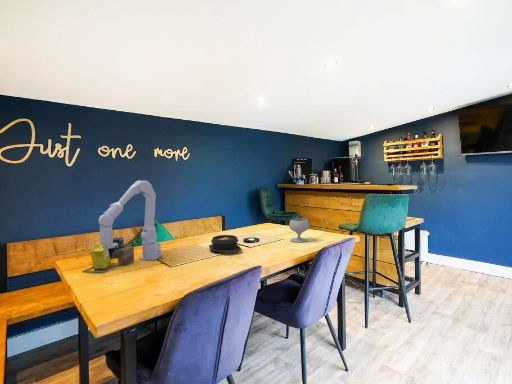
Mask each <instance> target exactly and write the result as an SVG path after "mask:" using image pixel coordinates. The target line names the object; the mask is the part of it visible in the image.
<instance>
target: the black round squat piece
mask: <svg viewBox="0 0 512 384" xmlns="http://www.w3.org/2000/svg"><path fill="white" fill-rule="evenodd" d="M210 242H211V244H209V245H208V247H209V250H211V251H213V252H216V253H223V254H224V253H225V254H226V253H227V254H229V253H231V254H233V253H236V252H240V251H242V248H241V247H240V246H239V245H238V243H239V238H238V236H236V235H233V234H232V235H231V234H220V235H214V236H213V237H212V239H211V240H210Z"/></svg>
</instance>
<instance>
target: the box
mask: <svg viewBox="0 0 512 384" xmlns="http://www.w3.org/2000/svg"><path fill="white" fill-rule="evenodd" d="M113 243H118V247H114V248H111V249H114V252H113V254H112V256H111V259H115V258H118V250H120V249H122V248H125V246H124V245H125V244H124V238H123V237H121V236H120V237H113Z"/></svg>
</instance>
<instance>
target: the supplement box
mask: <svg viewBox="0 0 512 384" xmlns="http://www.w3.org/2000/svg"><path fill="white" fill-rule="evenodd" d="M89 252H90V256H91V261H92V267H93V266H94V268H93V269H94V270H93V271H99V270H100V271H105V270H107V269H109V266H110V265H111V261H112V260H110V256H109V251H108V246H107V245H101V244H95V245H94V246H93V247H92V248H91V249H90V251H89Z"/></svg>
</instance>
